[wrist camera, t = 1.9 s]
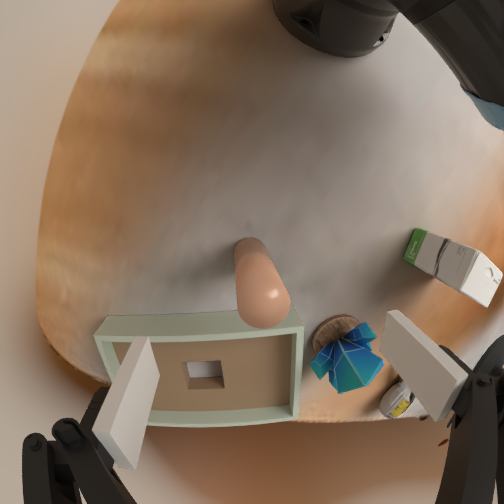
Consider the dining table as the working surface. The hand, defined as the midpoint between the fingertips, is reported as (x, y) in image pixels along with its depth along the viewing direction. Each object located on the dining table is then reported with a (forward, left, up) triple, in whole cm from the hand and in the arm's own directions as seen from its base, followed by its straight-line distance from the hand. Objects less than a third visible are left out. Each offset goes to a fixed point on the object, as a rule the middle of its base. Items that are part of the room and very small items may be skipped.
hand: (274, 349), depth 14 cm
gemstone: (+13, +11, -18) cm, 25 cm away
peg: (0, 0, -18) cm, 18 cm away
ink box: (+2, +25, -18) cm, 31 cm away
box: (+15, -7, -18) cm, 24 cm away
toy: (+25, +27, -18) cm, 41 cm away
